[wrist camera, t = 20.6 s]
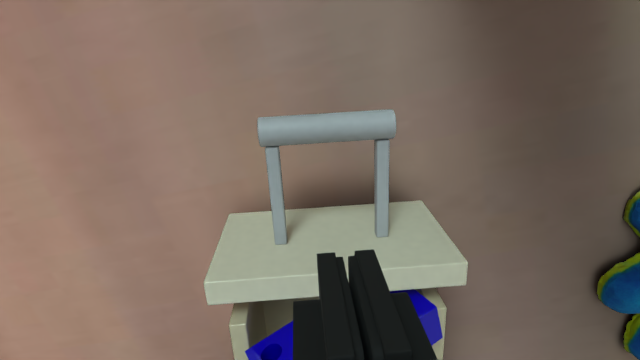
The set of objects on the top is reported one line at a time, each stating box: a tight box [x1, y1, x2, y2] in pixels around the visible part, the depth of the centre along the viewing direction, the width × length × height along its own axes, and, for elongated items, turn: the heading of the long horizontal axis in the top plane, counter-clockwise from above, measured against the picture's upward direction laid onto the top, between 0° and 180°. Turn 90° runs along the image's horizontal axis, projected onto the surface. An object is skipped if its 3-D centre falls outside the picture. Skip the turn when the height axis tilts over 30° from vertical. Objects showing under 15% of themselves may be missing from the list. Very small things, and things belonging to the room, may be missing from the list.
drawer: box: [204, 109, 468, 360], centre depth 21 cm, size 20×11×7 cm, turn 3°
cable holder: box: [245, 289, 443, 360], centre depth 18 cm, size 8×4×4 cm, turn 110°
